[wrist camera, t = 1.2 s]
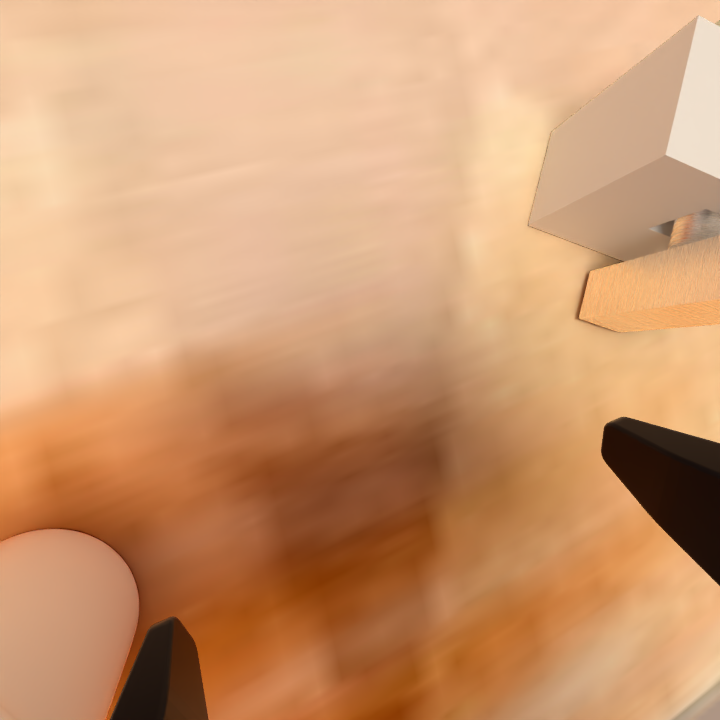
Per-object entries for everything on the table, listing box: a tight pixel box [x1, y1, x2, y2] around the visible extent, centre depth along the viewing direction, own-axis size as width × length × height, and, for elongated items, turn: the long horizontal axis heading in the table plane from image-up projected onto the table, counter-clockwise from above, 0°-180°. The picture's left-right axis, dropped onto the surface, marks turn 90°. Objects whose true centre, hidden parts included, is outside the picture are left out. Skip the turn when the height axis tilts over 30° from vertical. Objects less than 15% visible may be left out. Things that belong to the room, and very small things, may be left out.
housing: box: [528, 15, 720, 262], centre depth 24 cm, size 6×12×10 cm, turn 75°
